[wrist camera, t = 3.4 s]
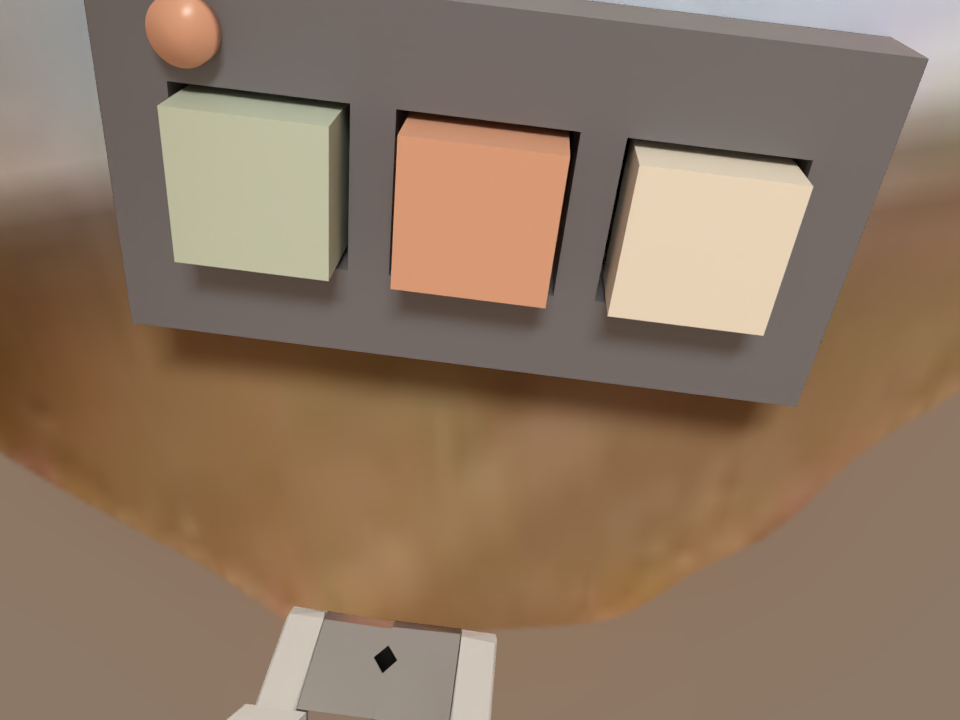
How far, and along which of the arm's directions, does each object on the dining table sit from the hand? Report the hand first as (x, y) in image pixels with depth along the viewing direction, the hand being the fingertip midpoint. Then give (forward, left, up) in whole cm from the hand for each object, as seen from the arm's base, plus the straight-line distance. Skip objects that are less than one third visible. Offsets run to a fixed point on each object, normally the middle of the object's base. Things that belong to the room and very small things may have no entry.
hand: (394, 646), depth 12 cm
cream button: (+7, 0, -18) cm, 20 cm away
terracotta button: (0, 0, -18) cm, 18 cm away
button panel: (0, 0, -20) cm, 20 cm away
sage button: (-7, 0, -18) cm, 20 cm away
